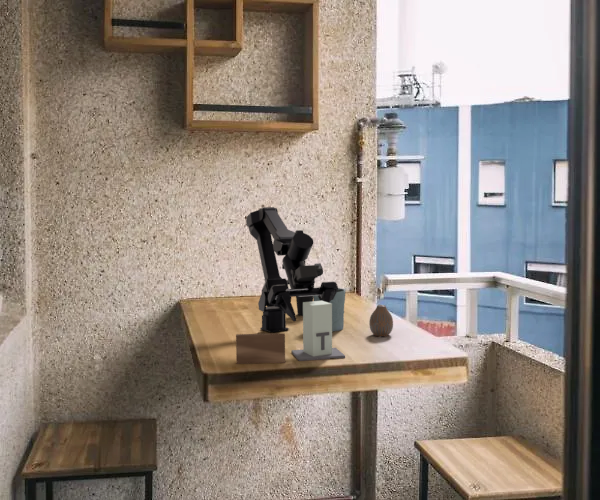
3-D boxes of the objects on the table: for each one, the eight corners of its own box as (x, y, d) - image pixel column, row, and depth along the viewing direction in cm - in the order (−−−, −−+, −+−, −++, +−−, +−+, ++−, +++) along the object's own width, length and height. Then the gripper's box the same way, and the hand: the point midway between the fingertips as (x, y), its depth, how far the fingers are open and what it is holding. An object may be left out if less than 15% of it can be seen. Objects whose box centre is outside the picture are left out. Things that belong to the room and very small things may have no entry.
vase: (378, 338, 192) (378, 308, 191) (364, 334, 198) (364, 304, 197) (397, 336, 195) (397, 306, 194) (384, 331, 201) (384, 302, 201)
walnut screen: (236, 362, 167) (236, 334, 167) (284, 360, 168) (284, 333, 167) (236, 363, 166) (236, 335, 165) (285, 362, 166) (284, 334, 166)
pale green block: (303, 351, 175) (302, 302, 174) (321, 349, 177) (321, 300, 176) (313, 356, 170) (313, 305, 168) (332, 354, 172) (332, 303, 171)
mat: (335, 349, 179) (335, 347, 179) (345, 357, 170) (345, 355, 170) (291, 352, 177) (291, 350, 177) (298, 360, 168) (298, 358, 168)
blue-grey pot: (322, 333, 200) (321, 293, 199) (307, 327, 209) (306, 288, 208) (351, 329, 205) (351, 290, 203) (335, 323, 214) (335, 286, 213)
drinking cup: (290, 315, 228) (289, 257, 226) (298, 312, 235) (298, 255, 233) (311, 317, 225) (310, 257, 223) (319, 313, 232) (318, 255, 230)
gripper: (270, 255, 177) (285, 303, 167) (335, 252, 183) (353, 298, 174) (261, 280, 185) (275, 328, 176) (324, 276, 191) (340, 322, 182)
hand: (311, 318), depth 177 cm, fingers open, 9 cm apart
